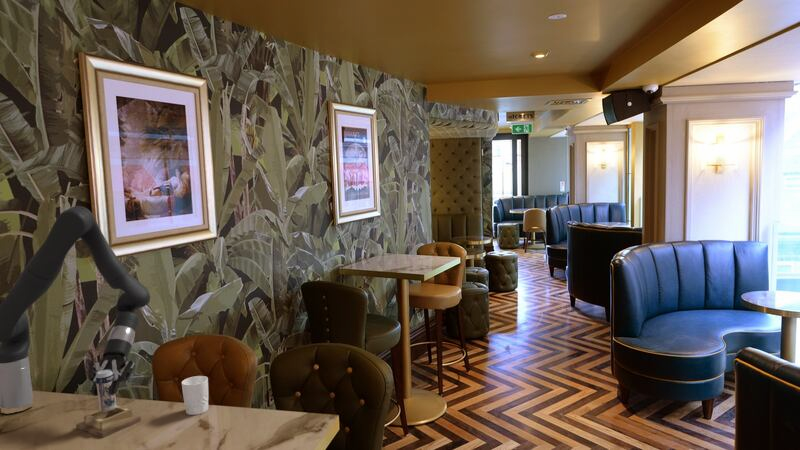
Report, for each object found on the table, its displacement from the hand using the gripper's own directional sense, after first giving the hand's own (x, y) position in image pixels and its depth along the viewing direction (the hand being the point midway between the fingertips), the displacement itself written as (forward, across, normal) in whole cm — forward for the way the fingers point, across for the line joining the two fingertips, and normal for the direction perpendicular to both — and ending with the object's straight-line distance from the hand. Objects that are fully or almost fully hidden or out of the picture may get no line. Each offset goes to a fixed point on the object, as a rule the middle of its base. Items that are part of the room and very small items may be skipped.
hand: (102, 394), depth 166 cm
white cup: (+1, +24, +14) cm, 28 cm away
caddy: (+6, 0, +8) cm, 10 cm away
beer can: (+3, 0, +6) cm, 6 cm away
